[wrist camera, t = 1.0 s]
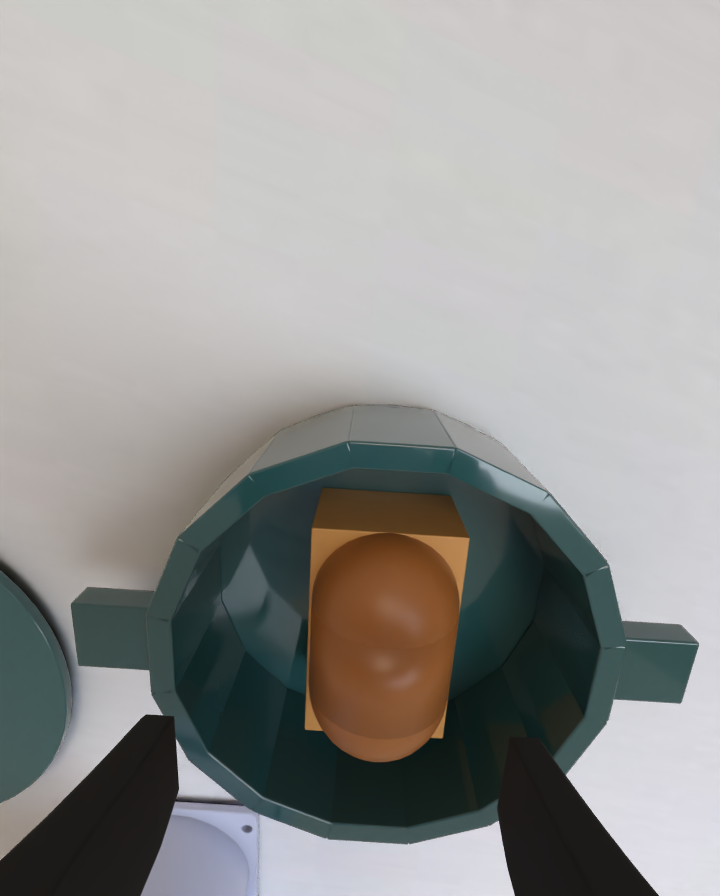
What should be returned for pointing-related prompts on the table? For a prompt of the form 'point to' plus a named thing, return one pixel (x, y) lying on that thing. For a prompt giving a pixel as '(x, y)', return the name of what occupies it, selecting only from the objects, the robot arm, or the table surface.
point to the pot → (286, 631)
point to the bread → (383, 619)
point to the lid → (29, 692)
